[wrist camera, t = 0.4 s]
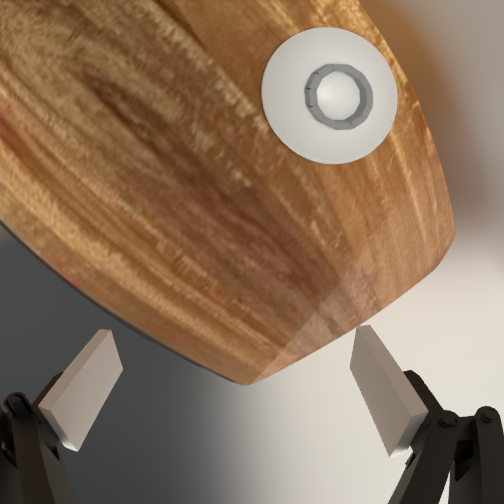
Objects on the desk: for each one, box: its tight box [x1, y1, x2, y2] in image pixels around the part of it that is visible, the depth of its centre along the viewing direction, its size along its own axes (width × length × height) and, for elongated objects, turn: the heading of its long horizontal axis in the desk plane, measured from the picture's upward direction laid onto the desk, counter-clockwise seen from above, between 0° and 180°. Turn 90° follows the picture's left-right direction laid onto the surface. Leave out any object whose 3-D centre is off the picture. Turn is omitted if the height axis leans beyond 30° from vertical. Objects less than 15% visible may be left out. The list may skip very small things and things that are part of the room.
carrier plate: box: [261, 27, 397, 164], centre depth 32 cm, size 20×20×3 cm
